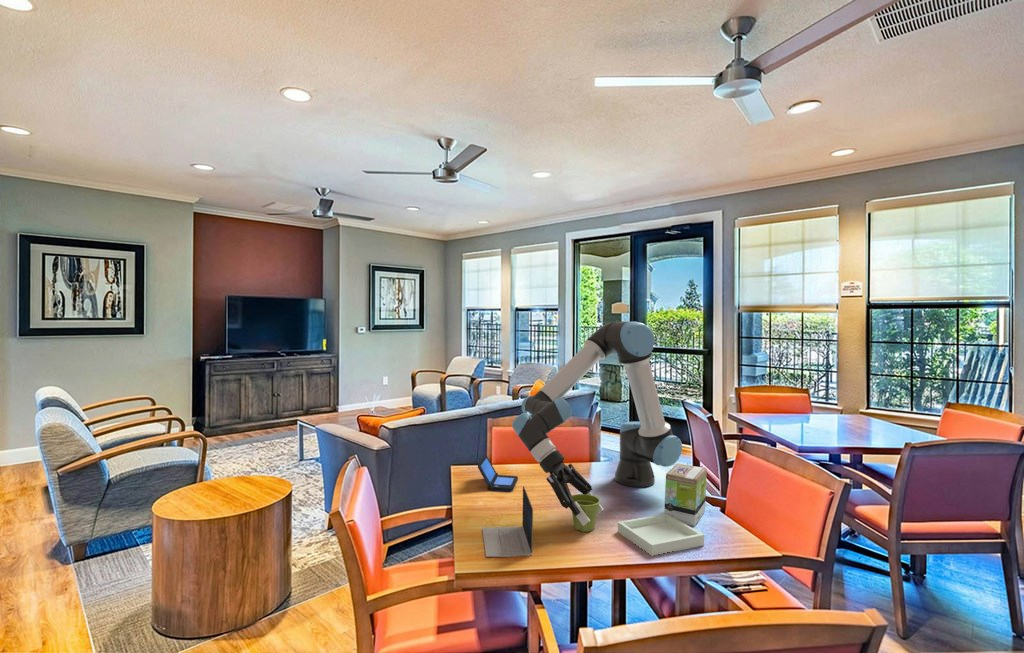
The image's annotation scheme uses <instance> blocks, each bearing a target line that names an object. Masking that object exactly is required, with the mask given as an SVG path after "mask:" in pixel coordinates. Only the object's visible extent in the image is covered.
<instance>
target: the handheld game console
mask: <svg viewBox="0 0 1024 653" xmlns="http://www.w3.org/2000/svg"><path fill="white" fill-rule="evenodd" d="M477 469H478V471H479V472H480V473H481V476H482V477H483V479H484V481H485V483H486V485H487V491H495V492H496V491H497V492H499V491H500V492H513V491H514V490H515V486H516V484H517V483H518V480H519V476H518V475H517V476H516V475H506V474H499V473H498V472H497V471H496V469H495V468H494V466H493V464H492V463H491V460H490V459H489V457H488V456H487V455H484V456H483V458H481V460H480V462H478V464H477Z"/></svg>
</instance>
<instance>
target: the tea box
mask: <svg viewBox="0 0 1024 653" xmlns="http://www.w3.org/2000/svg"><path fill="white" fill-rule="evenodd" d="M707 474H708V473H707V468H706V467H700V466H693V465H689V464H683V463H679V462H678V463H677V462H676V463H675V464H674V466H673V467H672V468H671V469H670V470H668V472H666V474H665V490H664V507H663V508H664V510H663V511H664V512H663V514H668V515H670V516H672V517H673V518H675V519H677V520H679V521H681V522H682V523H684V524H686V525H688V526H693V527H694V526H696V525H697V523H698V522H699V520H700V519H701V518H702V516H703V515H704V512H706V502H707V501H706V498H707V497H706V495H707Z"/></svg>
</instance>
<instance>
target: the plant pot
mask: <svg viewBox="0 0 1024 653" xmlns="http://www.w3.org/2000/svg"><path fill="white" fill-rule="evenodd" d="M572 498H573V500H574V503H575V502H577V503H578V504H579V506H580V507H581V508H582V510H583V511H584V512H585V514H586V515H587V516H588V518H589V519H590V521H589V522H588V523H587V524H585V525H584V526H583V525H582V524H581V523H580V521H579V520H578V519H577V517H576V516H575V515H574V513H573V512H572V511H571V513H572V521H573V522H572V523H573V528H574V529H575V530H576V531H581V532H583V533H584V532H591V531H593V530H595V527H596V526H595V525H596V518H597V514H596V513H597V508H598V505H599V504H600V503H601V499H600V498H599V497H597V496H595V495H593V496H592V495H586V494H582V493H580V494H573V495H572Z"/></svg>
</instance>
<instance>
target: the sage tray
mask: <svg viewBox="0 0 1024 653" xmlns="http://www.w3.org/2000/svg"><path fill="white" fill-rule="evenodd" d="M617 533H618V534H620V536H623V537H624V538H625V539H627V540H628V541H630V542H631V543H632V542H633V544H634V545H635V544H636V547H638V546H639V547H638V548H640V549H641V548H642V549H643V550H642V549H641V550H642V551H644V550H645V551H646V552H645V551H644V552H645V553H647V552H648V553H649V554H650V555H649V554H648V553H647V554H648V555H649V556H651V555H652V556H651V557H654V556H653V555H655V556H659V555H658V554H660V555H663V553H665V554H668V553H667V552H670V553H673V552H672V551H674V552H679V551H683V550H688V549H693V548H699V547H703V546H705V534H704V533H703V532H701V531H700V530H697V529H696V528H693V527H691V525H688V524H684V523H682V522H681V521H679V520H677V519H675V518H673V517H672V516H670V515H668V514H664V513H663V514H657V515H656V514H655V515H652V516H643V517H639V518H633V519H629V520H627V519H626V520H621V521H617Z"/></svg>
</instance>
